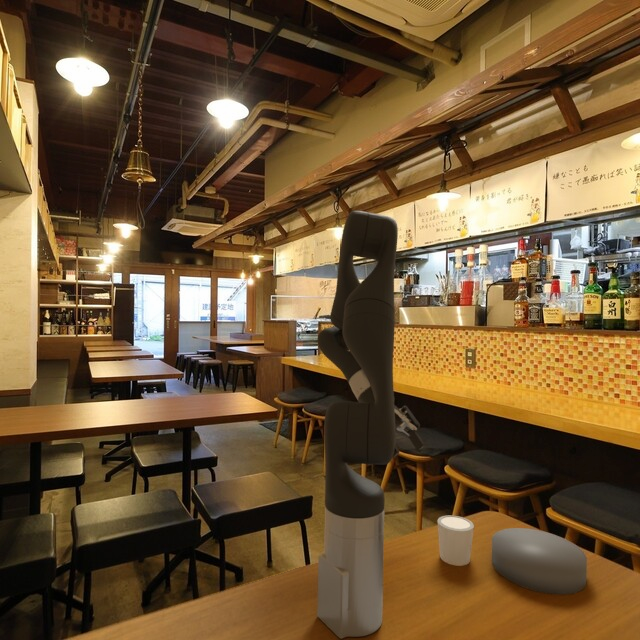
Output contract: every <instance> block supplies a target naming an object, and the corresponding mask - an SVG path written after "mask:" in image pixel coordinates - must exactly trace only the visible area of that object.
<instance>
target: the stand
mask: <svg viewBox="0 0 640 640" xmlns="http://www.w3.org/2000/svg"><path fill="white" fill-rule="evenodd" d="M587 560H588V558H587V555H586V553H585V551H583V550H582V549H581V548H580V547H579V546H578V545H576V544H575V543H573V542H572V541H569V540H567V539H565V538H564V537H561V536H558V535H556V534H554V533H550V532H547V531H543V530H538V529H533V528H527V527H525V528H524V527H509V528H505V529H499V531H497V532H495V533H494V534H493V535H492V538H491V563H492V566H493V568H494V569H495V571H497V572H498V574H500V575H501V576H502V577H504V578H505V580H506V579H507V580H508V581H509V582H512V584H513V583H514V584H515V585H517V586H519V587H522V588H525V589H528V590H531V591H534V592H538V593H542V594H550V595H562V596H563V595H573V594H576V593H579V592H581V591H582V590H584V589H585V587H586V585H587V576H588V575H587V573H588V572H587V571H588V570H587V569H588V568H587V567H588V566H587V565H588V561H587Z"/></svg>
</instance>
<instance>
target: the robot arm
mask: <svg viewBox="0 0 640 640" xmlns="http://www.w3.org/2000/svg"><path fill="white" fill-rule="evenodd" d="M398 231H399V230H398V224H397V220H396V219H395V218H393V217H391V216H389V215H385V214H378V213H373V212H368V211H361V210H352V211H351V212H350V213H349V214H348V215H347V217H346V218H345V222H344V226H343V229H342V234H341V235H342V236H341V243H340V249H339V257H338V258H339V259H338V266H337V276H336V277H337V279H336V289H335V294H334V299H333V302H332V306H331V311H330V322H331V324H332V326H330V327H326V328H324V329H321V330H320V331H319V333H318V335H317V345H318V348H319V351H320V352H321V353H322V354H323V355H324V356H325V358H327V359H328V361H330V362H331V363H332V364H334V366H335V367H336V368H337V369H339V370H340V371H341V373H342V374H343V376H344V378H345V380H346V381H347V382H348V384H349V386H350V388H351V389H350V390H351V391H352V393H353V394H354V397H355V398H356V399H357V402H356V401H333V402H331V403H330V404H329V405H328V406H327V409H326V412H325V415H324V422H323V423H324V426H323V427H324V429H323V433H324V437H323V440H324V459H325V460H324V462H325V463H324V465H325V466H324V467H325V473H324V474H325V475H324V476H325V477H324V479H325V481H324V482H325V484H324V530H323V533H324V534H323V537H324V538H323V553H321V554H320V555H318V561H317V562H318V565H317V566H318V567H317V571H318V572H317V573H318V574H317V615H316V616H317V618H318V619H319V620H321V622H323V623H324V625H326V626H327V627H328V629H330V630H331V631H332V632H333V633H334V634H335V635H336V636H337V637H338V638H339V639H340V640H342V639H344V638H347V637H353V638H356V637H357V638H358V637H359V638H360V637H365V636H369V635H371V634H373V633H375V632H376V631H377V630H379V628H380V627H381V626H382V623H383V608H384V607H383V603H384V602H383V599H384V598H383V597H384V593H383V592H384V551H385V550H384V548H385V547H384V545H385V543H384V542H385V541H384V540H385V539H384V538H385V502H386V500H385V492H384V489H383V487H381V486H380V485H379V484H378V483H376V481H373V480H371V479H370V478H367V477H364V476H363V475H361V474H359V473H358V472H356V471H354V470H353V469H352V468H351V467H350V466H349V465H348V464H359V465H360V464H363V465H381V466H383V465H384V466H385V465H389V463H390V462H391V461H392V460H393V458H396V457H397V456H398V455H399V454H400V449H399V447H397V445H396V430H397V431H398V432H400V433H401V432H403V433H404V434H405V435H407V436H408V439H409V440H410V442H411V444H412V445H413V446H414V448H415V450H416V451H420V450H421V449H423V448H424V447H425V442H424V440H423V439H422V437H421V436H420V435H419V433H418V429H419V428H420V427H421V424H420V422H419V421H418V419H416V417H415V416H414V414H413V412H412V411H411V410H410V409H409V407H408V406H407V405H403V406H402V407H401V408H399V407H397V406H396V404H395V399H396V398H395V391H394V390H395V389H394V348H395V347H394V346H395V328H396V327H395V322H396V321H395V315H396V313H395V312H396V311H395V270H396V269H395V268H396V260H397V251H398V250H397V249H398V235H399V233H398ZM354 257H355V258H356V257H357V258H363V259H368V260H374V261H376V262H377V264H376V265H375V267H374V268H373V270H371V272H370V273H369V274H368V275H367V276H366V277H365V278H364V279H363V280H362V281H361V282H360V280H359V278H358V275H357V273H356V270H355V267H354V266H355V265H354Z"/></svg>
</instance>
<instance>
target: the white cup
mask: <svg viewBox="0 0 640 640" xmlns="http://www.w3.org/2000/svg"><path fill="white" fill-rule="evenodd" d="M474 527H475V525H474V523H473V522H472V521H471V520H470V519H468V518H465V517H463V516H459V515H442V516H440V517H438V519H437V531H438V532H437V533H438V545H439V546H438V547H439V557H440V559H441V560H442V561H443V562H444V563H446V564H448V565H452V566H455V567H456V566H457V567H458V566H459V567H462V566H467V565H468V564H469V563H470V561H471V553H472V548H473V547H472V546H473V545H472V544H473V539H474V538H473V537H474Z"/></svg>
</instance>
